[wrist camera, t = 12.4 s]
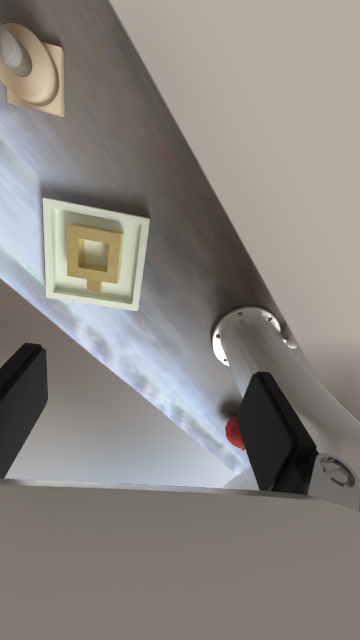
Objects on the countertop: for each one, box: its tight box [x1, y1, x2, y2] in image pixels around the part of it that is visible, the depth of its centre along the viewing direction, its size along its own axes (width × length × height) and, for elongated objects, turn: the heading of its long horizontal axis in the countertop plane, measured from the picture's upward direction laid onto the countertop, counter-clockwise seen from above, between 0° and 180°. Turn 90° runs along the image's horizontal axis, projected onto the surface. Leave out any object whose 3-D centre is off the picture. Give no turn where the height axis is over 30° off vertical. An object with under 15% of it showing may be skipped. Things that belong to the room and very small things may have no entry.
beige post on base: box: [0, 22, 65, 117], centre depth 25 cm, size 6×6×9 cm
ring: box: [67, 223, 124, 292], centre depth 36 cm, size 7×9×3 cm
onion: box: [225, 416, 246, 452], centre depth 51 cm, size 6×6×8 cm
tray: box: [43, 198, 150, 311], centre depth 37 cm, size 14×14×2 cm
